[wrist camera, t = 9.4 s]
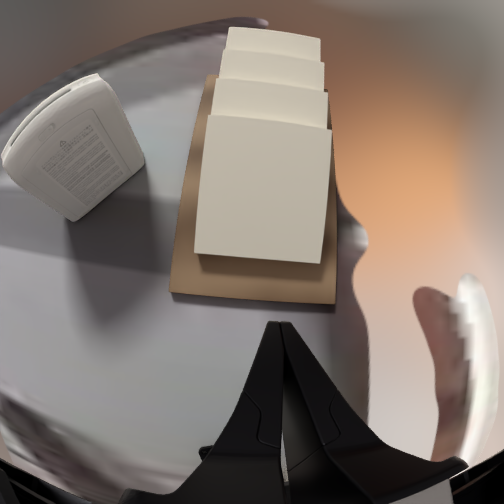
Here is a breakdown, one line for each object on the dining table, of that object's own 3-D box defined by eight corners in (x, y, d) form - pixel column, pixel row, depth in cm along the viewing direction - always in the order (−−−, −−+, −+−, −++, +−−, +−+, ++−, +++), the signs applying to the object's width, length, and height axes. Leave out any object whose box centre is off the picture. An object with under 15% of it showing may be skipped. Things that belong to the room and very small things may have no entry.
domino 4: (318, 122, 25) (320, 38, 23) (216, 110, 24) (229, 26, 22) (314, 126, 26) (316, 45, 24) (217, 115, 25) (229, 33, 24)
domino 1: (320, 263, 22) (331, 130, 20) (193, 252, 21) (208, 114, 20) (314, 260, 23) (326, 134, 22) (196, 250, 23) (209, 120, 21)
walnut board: (331, 304, 24) (335, 304, 23) (170, 292, 23) (168, 291, 22) (325, 93, 28) (327, 89, 27) (207, 79, 27) (207, 74, 27)
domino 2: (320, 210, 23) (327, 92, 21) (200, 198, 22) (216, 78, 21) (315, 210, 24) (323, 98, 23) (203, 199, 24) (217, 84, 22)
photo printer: (133, 138, 25) (92, 53, 13) (153, 163, 25) (112, 74, 13) (59, 200, 23) (-14, 145, 11) (74, 230, 23) (-8, 181, 11)
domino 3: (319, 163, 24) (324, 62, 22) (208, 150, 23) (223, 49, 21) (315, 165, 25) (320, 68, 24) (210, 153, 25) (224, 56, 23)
